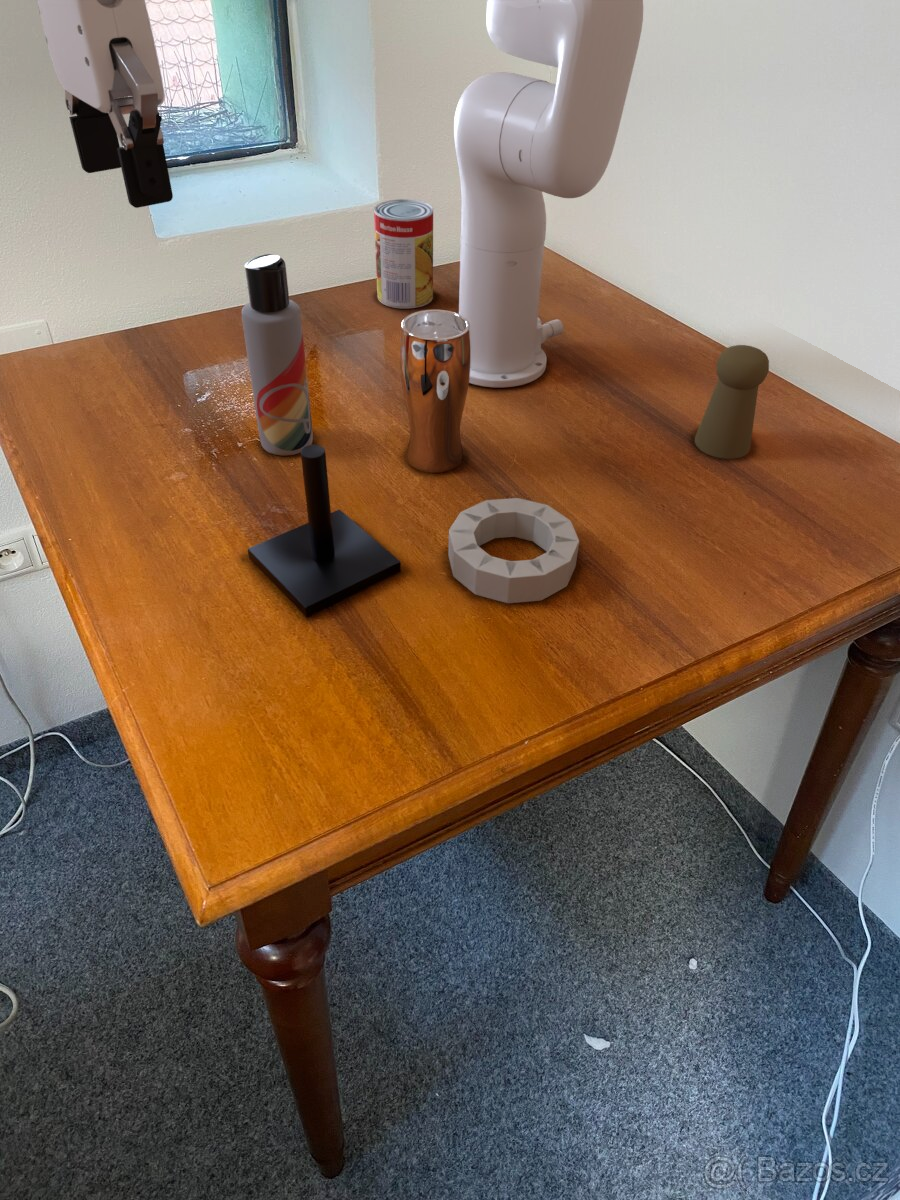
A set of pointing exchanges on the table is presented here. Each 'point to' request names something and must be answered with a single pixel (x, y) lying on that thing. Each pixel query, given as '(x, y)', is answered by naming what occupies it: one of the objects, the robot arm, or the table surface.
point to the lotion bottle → (276, 358)
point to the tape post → (322, 549)
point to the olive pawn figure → (733, 403)
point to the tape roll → (512, 576)
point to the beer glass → (435, 386)
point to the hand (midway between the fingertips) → (126, 185)
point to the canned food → (404, 253)
